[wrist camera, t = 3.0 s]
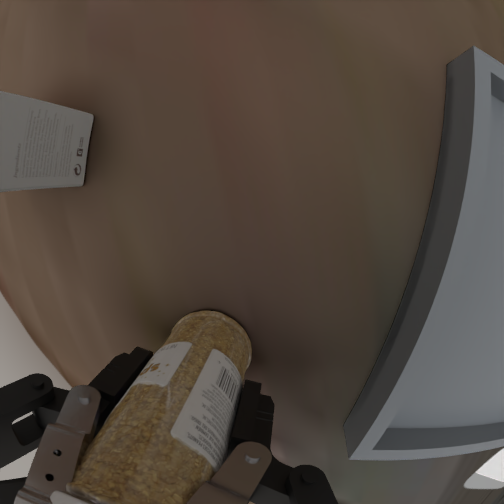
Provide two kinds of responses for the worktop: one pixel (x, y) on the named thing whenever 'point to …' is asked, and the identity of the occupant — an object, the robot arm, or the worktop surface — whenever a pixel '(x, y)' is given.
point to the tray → (448, 296)
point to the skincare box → (41, 144)
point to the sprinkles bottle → (169, 420)
